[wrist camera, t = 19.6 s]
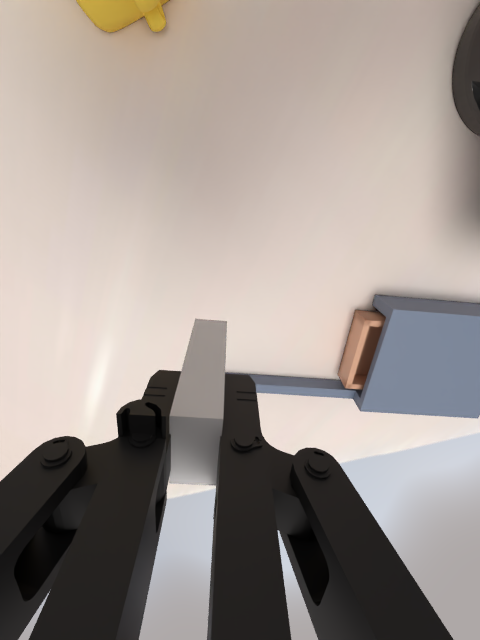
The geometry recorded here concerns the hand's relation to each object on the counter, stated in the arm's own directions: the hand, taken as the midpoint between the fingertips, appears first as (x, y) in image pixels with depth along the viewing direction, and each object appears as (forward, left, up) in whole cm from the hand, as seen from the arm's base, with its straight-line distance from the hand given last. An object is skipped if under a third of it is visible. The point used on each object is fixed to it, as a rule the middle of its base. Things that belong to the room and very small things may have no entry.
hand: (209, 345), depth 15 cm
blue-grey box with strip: (+13, +20, -26) cm, 35 cm away
